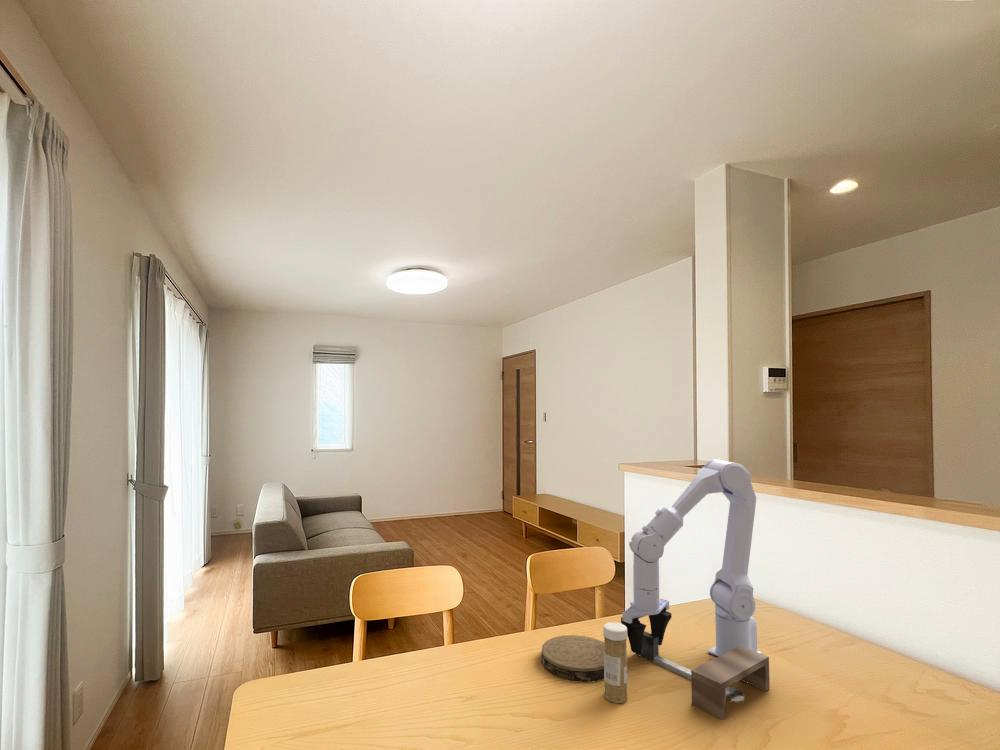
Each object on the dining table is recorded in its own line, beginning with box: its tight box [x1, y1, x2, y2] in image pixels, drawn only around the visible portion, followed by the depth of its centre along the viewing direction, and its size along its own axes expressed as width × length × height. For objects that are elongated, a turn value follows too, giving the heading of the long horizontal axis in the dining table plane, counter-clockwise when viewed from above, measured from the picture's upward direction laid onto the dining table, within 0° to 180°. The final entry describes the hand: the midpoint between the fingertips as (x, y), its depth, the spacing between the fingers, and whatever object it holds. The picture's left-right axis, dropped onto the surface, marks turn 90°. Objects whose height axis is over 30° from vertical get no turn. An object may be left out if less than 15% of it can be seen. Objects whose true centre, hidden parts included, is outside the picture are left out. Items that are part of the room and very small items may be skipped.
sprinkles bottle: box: [602, 621, 629, 704], centre depth 100 cm, size 5×5×13 cm
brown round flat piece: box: [541, 634, 605, 683], centre depth 113 cm, size 16×16×3 cm
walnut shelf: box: [690, 646, 771, 720], centre depth 101 cm, size 18×6×6 cm, turn 127°
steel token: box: [726, 686, 745, 703], centre depth 100 cm, size 4×4×1 cm
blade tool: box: [638, 630, 692, 681], centre depth 112 cm, size 18×5×5 cm, turn 37°
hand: (646, 648), depth 116 cm, fingers open, 7 cm apart
